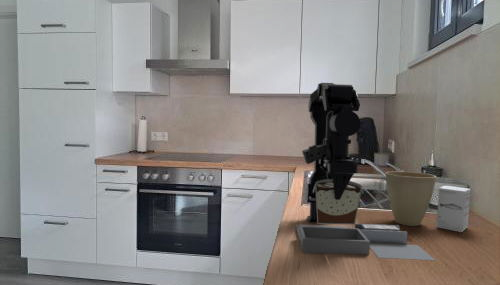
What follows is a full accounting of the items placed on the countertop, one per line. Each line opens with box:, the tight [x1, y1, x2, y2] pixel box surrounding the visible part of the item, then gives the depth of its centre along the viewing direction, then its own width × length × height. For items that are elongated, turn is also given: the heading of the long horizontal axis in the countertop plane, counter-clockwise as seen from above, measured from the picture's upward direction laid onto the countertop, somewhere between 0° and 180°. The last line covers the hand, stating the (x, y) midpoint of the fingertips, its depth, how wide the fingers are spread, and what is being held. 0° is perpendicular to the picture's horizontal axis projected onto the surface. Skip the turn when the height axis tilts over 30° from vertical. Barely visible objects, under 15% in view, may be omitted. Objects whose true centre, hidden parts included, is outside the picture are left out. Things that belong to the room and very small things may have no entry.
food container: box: [313, 179, 364, 226], centre depth 88 cm, size 12×6×10 cm, turn 91°
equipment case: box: [295, 224, 371, 255], centre depth 94 cm, size 21×16×4 cm
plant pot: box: [385, 170, 437, 227], centre depth 112 cm, size 15×15×16 cm
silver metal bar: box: [362, 224, 401, 231], centre depth 94 cm, size 3×9×3 cm, turn 87°
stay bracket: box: [354, 223, 408, 245], centre depth 94 cm, size 6×12×4 cm, turn 87°
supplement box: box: [436, 185, 471, 233], centre depth 108 cm, size 7×7×13 cm
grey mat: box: [370, 243, 436, 261], centre depth 86 cm, size 10×13×1 cm
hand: (334, 196), depth 88 cm, fingers closed on food container, 6 cm apart
